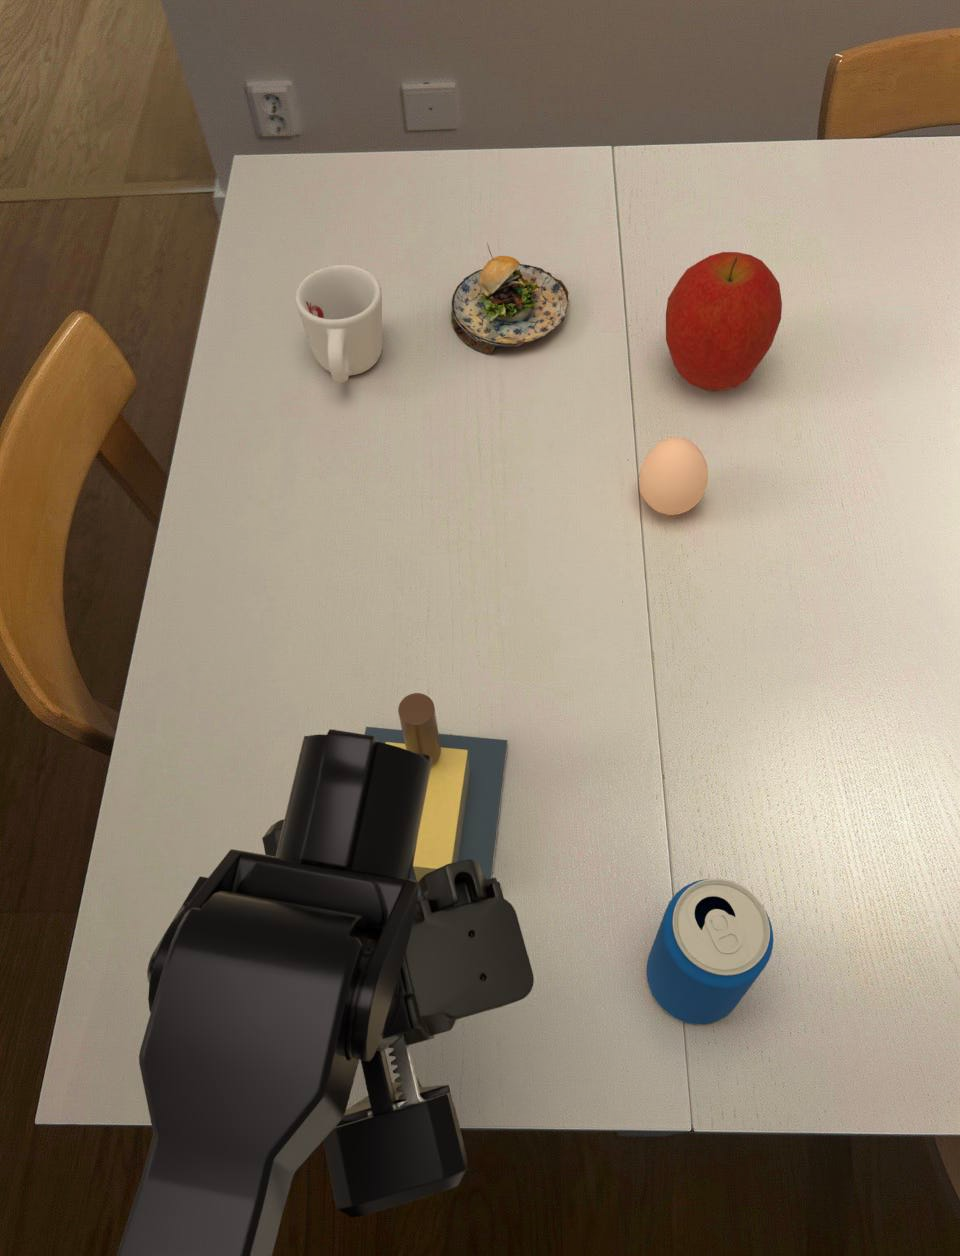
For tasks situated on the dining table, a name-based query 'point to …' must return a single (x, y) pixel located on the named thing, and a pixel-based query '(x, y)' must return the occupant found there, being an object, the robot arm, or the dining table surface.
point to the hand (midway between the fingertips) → (387, 997)
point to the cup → (342, 318)
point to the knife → (420, 725)
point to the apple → (722, 319)
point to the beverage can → (708, 950)
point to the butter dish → (479, 792)
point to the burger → (507, 304)
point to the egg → (673, 476)
